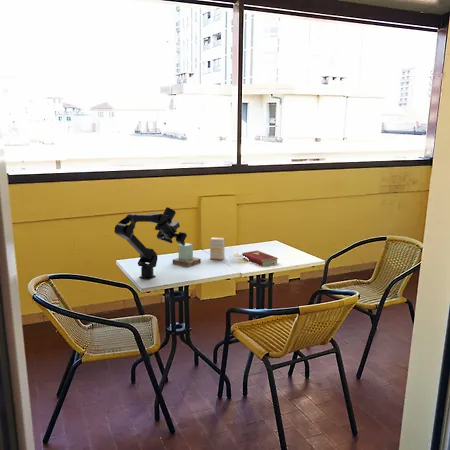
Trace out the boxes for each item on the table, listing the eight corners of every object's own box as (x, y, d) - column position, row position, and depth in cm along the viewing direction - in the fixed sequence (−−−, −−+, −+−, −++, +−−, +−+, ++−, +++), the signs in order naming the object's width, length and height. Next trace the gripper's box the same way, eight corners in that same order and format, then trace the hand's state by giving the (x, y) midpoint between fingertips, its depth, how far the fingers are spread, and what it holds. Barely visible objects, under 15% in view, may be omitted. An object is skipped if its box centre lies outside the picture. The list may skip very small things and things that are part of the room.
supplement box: (224, 258, 288) (224, 237, 285) (222, 260, 283) (222, 239, 281) (212, 257, 290) (212, 236, 287) (209, 259, 285) (209, 238, 283)
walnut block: (188, 268, 268) (188, 263, 268) (172, 264, 275) (172, 259, 274) (200, 263, 278) (200, 258, 277) (185, 260, 284) (185, 255, 284)
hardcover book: (262, 267, 271) (262, 260, 270) (241, 258, 288) (242, 252, 287) (278, 264, 277) (278, 257, 276) (257, 256, 294) (257, 250, 294)
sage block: (186, 260, 272) (186, 246, 270) (178, 259, 275) (178, 244, 274) (192, 258, 277) (192, 244, 275) (185, 257, 280) (185, 242, 278)
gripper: (184, 218, 255) (196, 234, 266) (159, 215, 265) (172, 230, 276) (175, 235, 250) (188, 250, 261) (150, 230, 260) (163, 246, 271)
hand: (178, 243), depth 267 cm, fingers open, 9 cm apart
